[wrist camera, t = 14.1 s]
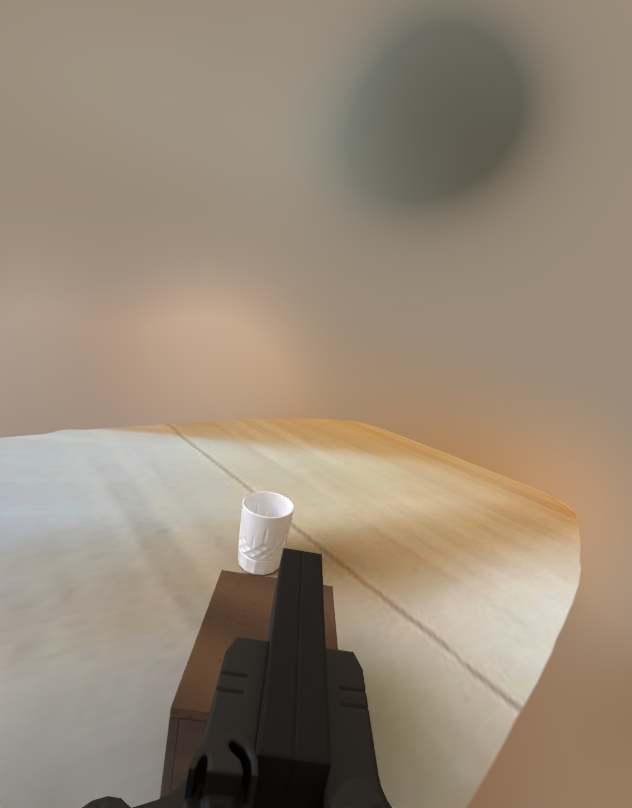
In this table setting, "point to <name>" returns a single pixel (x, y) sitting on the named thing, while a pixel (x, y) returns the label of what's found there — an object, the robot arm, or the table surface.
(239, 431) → the table surface
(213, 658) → the lid
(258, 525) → the white cup
